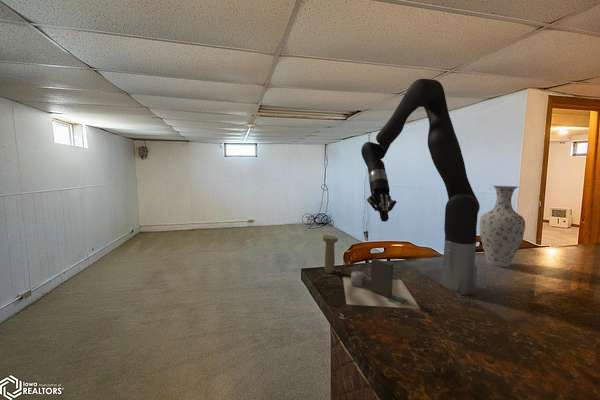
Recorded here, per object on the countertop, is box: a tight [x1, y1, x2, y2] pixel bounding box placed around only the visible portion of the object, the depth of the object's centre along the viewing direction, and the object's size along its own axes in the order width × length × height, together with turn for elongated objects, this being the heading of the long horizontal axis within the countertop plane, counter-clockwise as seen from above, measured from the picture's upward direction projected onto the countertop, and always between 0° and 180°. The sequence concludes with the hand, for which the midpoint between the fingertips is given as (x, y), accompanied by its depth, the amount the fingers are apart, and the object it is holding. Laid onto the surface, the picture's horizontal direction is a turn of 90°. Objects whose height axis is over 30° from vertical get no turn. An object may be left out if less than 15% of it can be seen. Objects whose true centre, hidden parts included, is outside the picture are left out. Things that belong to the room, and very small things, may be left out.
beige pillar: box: [322, 234, 339, 274], centre depth 105 cm, size 5×6×15 cm
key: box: [350, 258, 403, 302], centre depth 87 cm, size 20×5×10 cm, turn 36°
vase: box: [479, 185, 526, 268], centre depth 118 cm, size 16×16×35 cm
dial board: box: [342, 276, 421, 310], centre depth 89 cm, size 21×21×1 cm
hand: (385, 220), depth 104 cm, fingers closed
